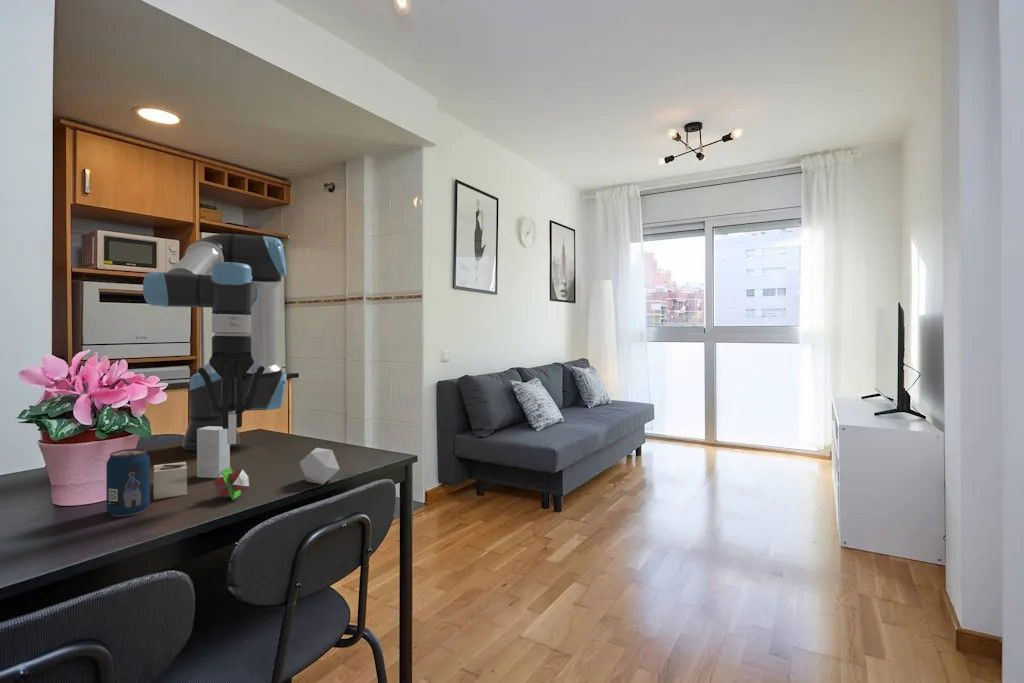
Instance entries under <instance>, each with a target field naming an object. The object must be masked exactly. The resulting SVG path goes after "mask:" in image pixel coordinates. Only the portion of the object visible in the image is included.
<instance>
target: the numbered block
mask: <svg viewBox="0 0 1024 683" xmlns="http://www.w3.org/2000/svg"><path fill="white" fill-rule="evenodd" d="M186 495H188V467H187V461H182V462H173V463H163V464H155V465H153V500H160V499H165V498H172V497H173V498H174V497H179V496H180V497H181V496H186Z"/></svg>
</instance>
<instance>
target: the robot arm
mask: <svg viewBox="0 0 1024 683" xmlns="http://www.w3.org/2000/svg"><path fill="white" fill-rule="evenodd" d="M286 276H287V264H286V257H285V250H284V246H283V243H282V241H281V239H279V238H278V237H273V236H268V235H267V236H266V235H251V234H236V233H235V234H234V233H217V234H211V235H208V236H204V237H202V238H200V239H197V240H196V241H194V242H192V243H191V244H190V245H189V246H188V247H187V248H186V250H185V252H184V256H183V257H182V258H181V259H180V260H179V261H178V262H177V263H175V264H174V265H173V266H172V267H171V268H170V269H169V270H168V271H167V272H164V271H157V272H155V271H154V272H153V271H152V272H148V273H146V274H145V276H144V277H143V283H142V292H143V298H144V300H145V302H146V303H147V304H148V305H150V306H155V307H164V308H169V307H173V308H174V307H176V308H211V332H212V334H214V335H213V336H212V337H211V356H210V358H209V361H208V363H206V364H205V365H203V366H200V367H198V368H197V373H194V374H193V375H191V377H190V378H189V389H188V391H189V423H188V426H187V428H186V431H185V435H183V440H182V450H184V451H187V452H197V429H199V428H203V427H207V426H218V427H222V428H223V429H227V443H228V445H230V449H231V448H235V447H237V446H239V445H240V442H241V441H240V440H241V439H240V438H241V437H240V434H239V431H238V428H239V429H240V428H242V426H243V413H244V412H246V411H271V410H272V411H273V410H278V409H280V408H282V406H283V403H284V398H285V392H286V385H287V373H286V372H283V370H282V369H283V368H282V366H281V365H280V364H279V363H278V362H277V287H278V286H279V284H281V283H282V277H286ZM212 369H213V370H212Z"/></svg>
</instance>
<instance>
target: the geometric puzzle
mask: <svg viewBox="0 0 1024 683" xmlns="http://www.w3.org/2000/svg"><path fill="white" fill-rule="evenodd" d="M233 468H234V470H235V471H234V470H233ZM221 473H222V477H220V478H212V479H213V483H214V485H215V488H216V490H213V492H215V493H216V492H217V493H218V495H219V497H220V498H223V499H224V498H226V496H229V497H230V498H231V499H230V498H228V499H229V501H234V500H235V499H236V498H238V497H240V496H241V495H243V493H244V491H246V490H247V489H248V488H249V487H251V486H250V480H249V474H247V473H246V471H245V470H244V469H243V468H238V469H237V468H236V467H234V466H231V465H230V467H229V468H227V469H225V470H223V471H221ZM221 473H219V474H220V475H221ZM219 474H218V475H219ZM220 475H219V476H220ZM241 490H242V491H241Z"/></svg>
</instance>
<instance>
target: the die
mask: <svg viewBox="0 0 1024 683" xmlns="http://www.w3.org/2000/svg"><path fill="white" fill-rule="evenodd" d="M299 464H300V465H299V466H300V467H301V470H302V472H303V474H304V478H305V481H306V482H308V483H313V484H317V483H318V484H317V485H325V484H326V483H327V481H329V480H330V479H332V477H333V476H334V475H335V474H336V473H338V471H339V470H340V469H341V468H340V466H339V463H338V461H337V459H336V456H335V453H334V450H332V449H327V448H321V447H316V448H314V449H313V450H311V452H309V453H308V454H307V455H306V456H305V457H303V459H301V460H300V461H299Z"/></svg>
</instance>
